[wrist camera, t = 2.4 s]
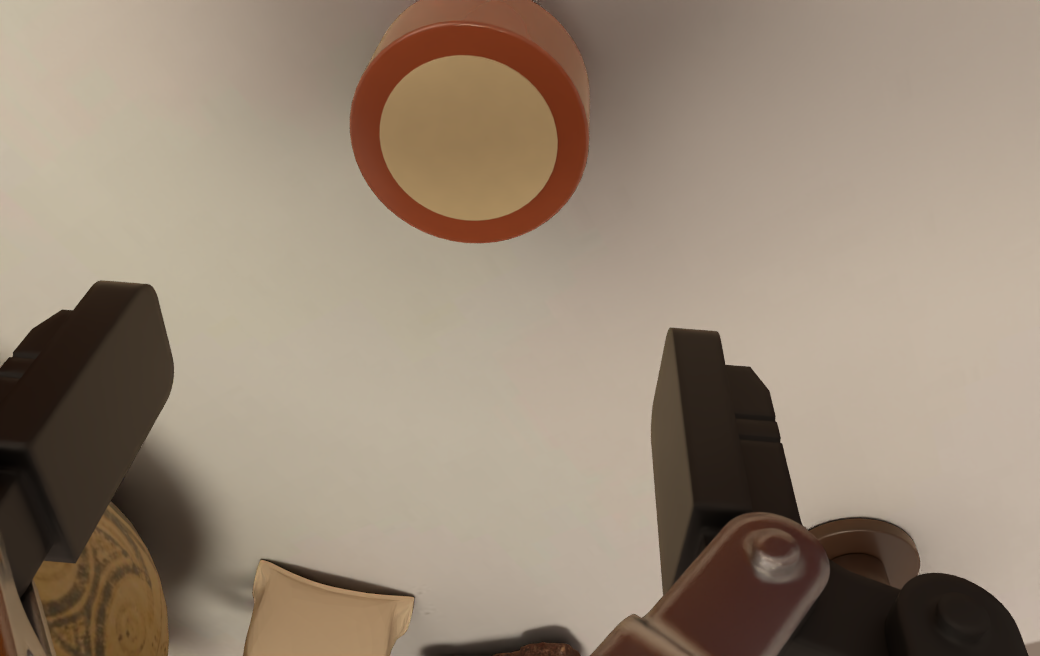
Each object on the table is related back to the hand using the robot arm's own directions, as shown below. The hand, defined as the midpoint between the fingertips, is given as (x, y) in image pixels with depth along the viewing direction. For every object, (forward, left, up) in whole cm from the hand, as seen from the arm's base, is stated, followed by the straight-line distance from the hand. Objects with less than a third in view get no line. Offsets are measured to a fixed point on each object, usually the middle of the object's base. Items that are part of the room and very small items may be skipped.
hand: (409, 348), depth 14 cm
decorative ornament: (+7, +24, -12) cm, 28 cm away
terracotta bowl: (0, 0, -12) cm, 12 cm away
